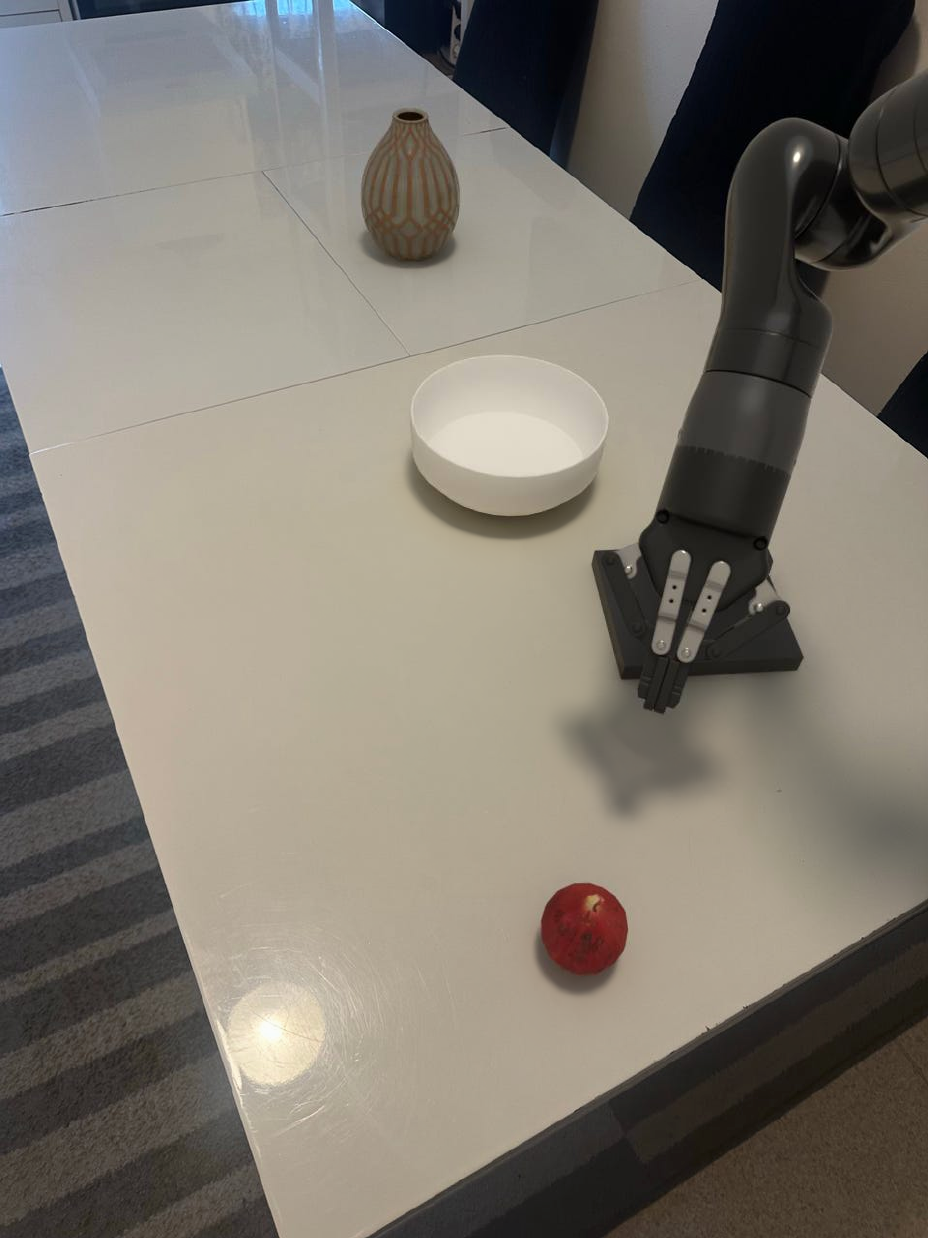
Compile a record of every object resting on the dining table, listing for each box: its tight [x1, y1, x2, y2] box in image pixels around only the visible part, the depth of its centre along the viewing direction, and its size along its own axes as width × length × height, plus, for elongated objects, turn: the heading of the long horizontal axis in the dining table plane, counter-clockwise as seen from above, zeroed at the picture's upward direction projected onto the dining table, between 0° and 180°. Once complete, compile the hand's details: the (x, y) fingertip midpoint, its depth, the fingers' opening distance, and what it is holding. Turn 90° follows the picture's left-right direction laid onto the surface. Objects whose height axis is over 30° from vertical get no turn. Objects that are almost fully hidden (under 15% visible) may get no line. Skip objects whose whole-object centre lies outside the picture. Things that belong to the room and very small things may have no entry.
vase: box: [360, 107, 461, 262], centre depth 120 cm, size 13×13×18 cm
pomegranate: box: [540, 882, 629, 977], centre depth 61 cm, size 6×6×8 cm
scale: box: [591, 548, 805, 680], centre depth 84 cm, size 16×14×4 cm
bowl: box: [409, 354, 610, 517], centre depth 93 cm, size 20×20×8 cm
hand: (653, 709), depth 61 cm, fingers closed
